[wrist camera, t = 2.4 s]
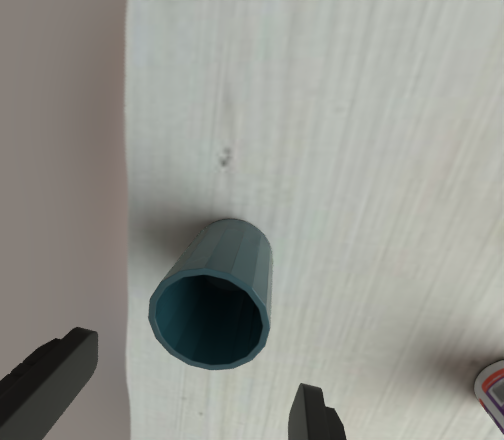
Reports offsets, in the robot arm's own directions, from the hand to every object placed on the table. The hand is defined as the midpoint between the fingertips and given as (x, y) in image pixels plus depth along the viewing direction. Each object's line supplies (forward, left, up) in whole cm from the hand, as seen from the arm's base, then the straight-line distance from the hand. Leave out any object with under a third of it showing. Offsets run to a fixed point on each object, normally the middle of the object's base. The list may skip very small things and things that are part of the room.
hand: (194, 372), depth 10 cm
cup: (0, 0, -10) cm, 10 cm away
